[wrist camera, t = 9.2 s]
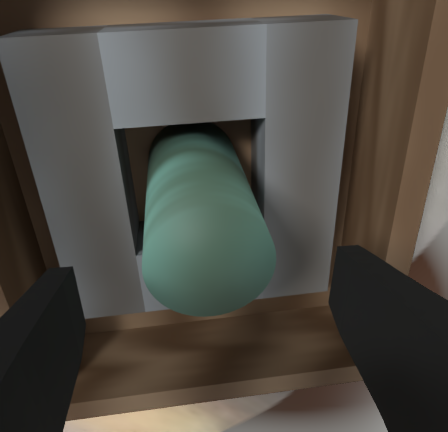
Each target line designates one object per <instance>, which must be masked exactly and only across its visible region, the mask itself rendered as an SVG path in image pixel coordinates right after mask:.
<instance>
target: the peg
mask: <svg viewBox="0 0 448 432" xmlns="http://www.w3.org/2000/svg"><path fill="white" fill-rule="evenodd" d="M275 267H276V250H275V245H274V243H273V240H272V238H271V235H270V233H269V230H268V228H267V226H266V223H265V221H264V219H263V216H262V214H261V211H260V209H259V207H258V204H257V202H256V200H255V197H254V195H253V192H252V190H251V188H250V185H249V183H248V180H247V178H246V176H245V173H244V171H243V169H242V166H241V164H240V161H239V159H238V157H237V154H236V152H235V150H234V147H233V145H232V142H231V141H230V139H229V137H228V136H227V134H226V133H225V132H224V131H223V130H222V129H221V128H219V127H218V126H217V125H215V124H213V123H211V122H203V123H190V124H176V125H168V126H166V127H165V128H164V129H162V130H161V131H160V132H159V133H158V134H157V136H156V137H155V138H154V140H153V142H152V144H151V147H150V150H149V156H148V172H147V188H146V205H145V221H144V237H143V254H142V275H143V279H144V282H145V284H146V287H147V288H148V290H149V291H150V293H151V294H152V295H153V297H154V298H155V299H156V300H157V301H159V302H160V303H161V304H162V305H164V306H165V307H167V308H169V309H171V310H173V311H175V312H178V313H181V314H185V315H189V316H198V317H208V316H217V315H222V314H226V313H230V312H232V311H235V310H237V309H240V308H242V307H244V306H245V305H247V304H248V303H250V302H251V301H253V300H254V299H255V298H257V297H258V296H259V295H260V294H261V293H262V292H263V290H264V289H265V288H266V287H267V285H268V284H269V282H270V280H271V278H272V276H273V274H274V270H275Z"/></svg>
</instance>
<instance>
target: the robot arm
mask: <svg viewBox="0 0 448 432" xmlns="http://www.w3.org/2000/svg"><path fill="white" fill-rule="evenodd" d="M328 303H329V306H330V309H331V312H332V315H333V318H334V321H335V324H336V326H337V329H338V332H339V334H340V336H341V338H342V340H343V342H344V344H345V346H346V348H347V350H348V352H349V354H350V356H351V358H352V360H353V362H354V364H355V365H356V367H357V369H358V371H359V373H360V375H361V377H362V379H363V381H364V383H365V385H366V386H367V388H368V390H369V392H370V394H371V396H372V398H373V400H374V402H375V403H376V406H377V408H378V410H379V412H380V414H381V416H382V418H383V420H384V423H385V425H386V428H387V430H388V432H448V300H446V299H444V298H443V297H441V296H439V295H437V294H436V293H434V292H432V291H431V290H429V289H427V288H426V287H424V286H423V285H421V284H419V283H418V282H416V281H415V280H413V279H411V278H410V277H408V276H407V275H405V274H404V273H402V272H400V271H399V270H397V269H396V268H394V267H393V266H391V265H390V264H388V263H387V262H385V261H384V260H382V259H380V258H379V257H377V256H376V255H374V254H373V253H371V252H369V251H368V250H366V249H364V248H363V247H361V246H359V245H349V246H337V251H336V257H335V263H334V269H333V276H332V282H331V288H330V294H329V301H328ZM85 329H86V322H85V317H84V313H83V309H82V304H81V300H80V295H79V291H78V286H77V282H76V277H75V273H74V269H73V266H70V267H57V268H49V269H48V270H47V271H46V272H44V274H43V275H42V276H41V277H40V278H39V279H38V280H37V281H36V282H35V283H34V284H33V285H32V286H31V287H30V288H29V289H28V290H27V291H26V292H25V293H24V294H23V295H22V296H21V297H20V298H19V299H18V300H17V301H16V302H15V303H14V304H13V305H12V306H11V307H10V308H9V309H8V310H7V311H6V312H5V313H4V314H3V315H2V316H1V317H0V432H63V429H64V425H65V421H66V417H67V414H68V410H69V406H70V402H71V399H72V395H73V391H74V387H75V384H76V380H77V376H78V372H79V368H80V364H81V360H82V353H83V346H84V338H85Z"/></svg>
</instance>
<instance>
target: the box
mask: <svg viewBox="0 0 448 432" xmlns="http://www.w3.org/2000/svg"><path fill="white" fill-rule="evenodd" d="M447 107H448V0H0V317H1V316H2V315H3V314H4V313H5V312H6V311H7V310H8V309H9V308H10V307H11V306H12V305H13V304H14V303H15V302H16V301H17V300H18V299H19V298H20V297H21V296H22V295H23V294H24V293H25V292H26V291H27V290H28V289H29V288H30V287H31V286H32V285H33V284H34V283H35V282H36V281H37V280H38V279H39V278H40V277H41V276H42V275H43V274H44V272H46V271H47V270H48V269H49V268H57V267H70V266H73V269H74V273H75V277H76V282H77V286H78V291H79V295H80V300H81V304H82V309H83V313H84V317H85V322H86V329H85V338H84V346H83V353H82V360H81V364H80V368H79V372H78V376H77V380H76V384H75V387H74V391H73V395H72V399H71V402H70V406H69V410H68V414H67V417H66V421H70V420H77V419H85V418H92V417H99V416H107V415H114V414H121V413H129V412H136V411H143V410H151V409H158V408H165V407H173V406H180V405H187V404H195V403H202V402H209V401H217V400H224V399H231V398H239V397H246V396H253V395H261V394H268V393H275V392H283V391H290V390H297V389H305V388H312V387H319V386H326V385H333V384H341V383H349V382H355V381H363V379H362V377H361V375H360V373H359V371H358V369H357V367H356V365H355V364H354V362H353V360H352V358H351V356H350V354H349V352H348V350H347V348H346V346H345V344H344V342H343V340H342V338H341V336H340V334H339V332H338V329H337V326H336V324H335V321H334V318H333V315H332V312H331V309H330V306H329V303H328V301H329V294H330V288H331V282H332V276H333V269H334V263H335V257H336V251H337V246H349V245H359V246H361V247H363V248H364V249H366V250H368V251H369V252H371V253H373V254H374V255H376V256H377V257H379V258H380V259H382V260H384V261H385V262H387V263H388V264H390V265H391V266H393V267H394V268H396V269H397V270H399V271H400V272H402V273H404V274H405V275H407V276H408V274H409V270H410V266H411V262H412V257H413V253H414V249H415V244H416V240H417V236H418V231H419V227H420V223H421V219H422V214H423V210H424V206H425V201H426V197H427V193H428V188H429V184H430V180H431V176H432V171H433V167H434V163H435V158H436V154H437V150H438V145H439V141H440V137H441V133H442V128H443V124H444V120H445V115H446V111H447ZM203 122H211V123H213V124H215V125H217V126H218V127H219V128H221V129H222V130H223V131H224V132H225V133H226V134H227V136H228V137H229V139H230V141H231V142H232V145H233V147H234V150H235V152H236V154H237V157H238V159H239V161H240V164H241V166H242V169H243V171H244V173H245V176H246V178H247V180H248V183H249V185H250V188H251V190H252V192H253V195H254V197H255V200H256V202H257V204H258V207H259V209H260V211H261V214H262V216H263V219H264V221H265V223H266V226H267V228H268V230H269V233H270V235H271V238H272V240H273V243H274V245H275V250H276V267H275V270H274V274H273V276H272V278H271V280H270V282H269V284H268V285H267V287H266V288H265V289H264V290H263V292H262V293H261V294H260V295H259V296H258V297H257V298H255V299H254V300H253V301H251V302H250V303H248V304H247V305H245V306H244V307H242V308H240V309H237V310H235V311H232V312H230V313H226V314H222V315H217V316H208V317H198V316H189V315H185V314H181V313H178V312H175V311H173V310H171V309H169V308H167V307H165V306H164V305H162V304H161V303H160V302H159V301H157V300H156V299H155V298H154V297H153V295H152V294H151V293H150V291H149V290H148V288H147V287H146V284H145V282H144V279H143V275H142V254H143V237H144V221H145V205H146V188H147V172H148V156H149V150H150V147H151V144H152V142H153V140H154V138H155V137H156V136H157V134H158V133H159V132H160V131H161V130H162V129H164V128H165V127H166V126H168V125H176V124H190V123H203Z"/></svg>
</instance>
